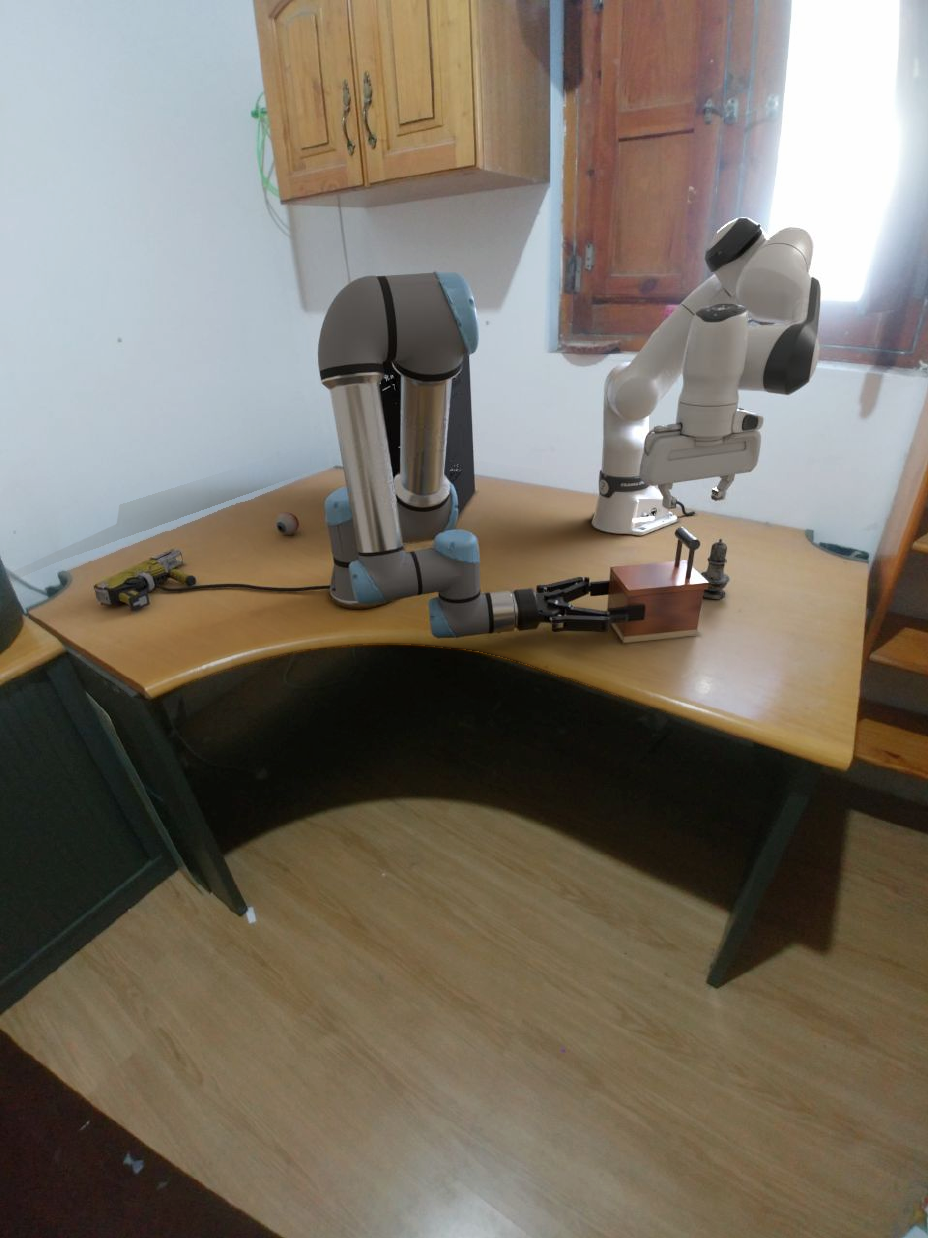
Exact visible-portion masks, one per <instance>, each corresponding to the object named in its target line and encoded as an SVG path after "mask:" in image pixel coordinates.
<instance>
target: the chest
mask: <svg viewBox="0 0 928 1238" xmlns="http://www.w3.org/2000/svg"><path fill="white" fill-rule="evenodd" d="M608 580H609V593H608V595H607V606H606V607H607V608H606V611H608V608H616V607H625V606H636V605H645V606H646V608H645V617H644V620H639V621H629V622H622V623H612V624H610V625H611V626H612V628H613V629H614V631H615V633H616V634H617V636H618V638H619V639H620V640H621V642H622V644H627V643H637V642H645V641H647V642H648V641H654V640H655V641H656V640H666V639H674V638H675V639H677V638H684V637H693V636H697V635H698V627H699V623H700V622H699V621H700V616H701V611H702V610H701V609H702V604H703V598H704V597H703V593H704V589H702V590H692V591H682V592H672V593H661V594H651V595H641V596H631V597H628V596H627V595H626V594H625V592H624V591H623V590H622V588H621V587H620V586H619V584H618V583H617V582H616V580H615V579H614V578H613V576H612V575H611V574H610V573H609V579H608Z"/></svg>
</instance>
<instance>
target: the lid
mask: <svg viewBox="0 0 928 1238" xmlns="http://www.w3.org/2000/svg"><path fill="white" fill-rule="evenodd" d="M674 536H675V538H676V539H677V544H676V551H675V558H674V560H671V561H660V562H650V563H647V562H646V563H639V564H637V563H636V564H627V565H617V566H610V568H609V569H610V570H609V575H610V574H611V575H612V576H613V578H614V579H615V580H616V582H617V583H618V584H619V586H620V587H621V588H622V590H623V591H624V592H625V594H626V595H627V596H628V597H631V596H641V595H651V594H661V593H672V592H682V591H692V590H702V589H708V585H709V582H708V581H707V580H706V579H705V578H704V577H703V576H702V575H701V574H700V572H699V571H698V570H696V569H695V568H694V566H693V565H694V558H695V554H696V553H695V552H696V550H698V549H699V548H700V547H701V541H700V540H699V539H698V538H697V537H696V536H694V535H693V534H692V533H691V532H690V531H688V530H687V529H686V528H685V527H683V526H681V527H678V528H676V530H675V531H674ZM683 545H684V546H685V547H686V548H688V549H689V550H688V557H687V560H686V559H681V557H682V550H683Z"/></svg>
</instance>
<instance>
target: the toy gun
mask: <svg viewBox="0 0 928 1238" xmlns="http://www.w3.org/2000/svg"><path fill="white" fill-rule="evenodd" d="M179 557H181V560H177V558H179ZM183 564H184V558H183V552H182V551H181V550H179V549H174V548H171V549H169V550H167V551H164V552H163V553H161V554H159V555H156V556H155V557H150V558H148V559H146V560H144V561H142V562H139V563H138V564H135V565H133V566H131V567H129V568H127V569H125V570H122V571H120V572H118V573H116V574H113V575H112V576H110V577H108V578H106V579H104V580H101V581H99V582H97V583H95V584H93V590H94V594H95V598H96V600H97V603H99V604H100V605H101V606H105V607H107V606H117V605H121V604H127V605H128V606H129V607H130V611H131V612H136V611H138V610H141V609H143V608H145V607H147V606H148V607H149V606H150V599H149V595H148V593H149V592H151V591H154V590H155V588H154V587H155V585H154V584H158V585H160V584H161V583H164V582H165V581H168V579H171V580H174V581H177V582H178V583H182V584H183V585H184V584H185V585H186V586H187V587H192V586H196V584H197V578H196V576H194V575H192V574H188V573H186V572H184V571H180V570H179V569H176V568H177V567H180V565H183Z"/></svg>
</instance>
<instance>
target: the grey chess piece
mask: <svg viewBox="0 0 928 1238" xmlns="http://www.w3.org/2000/svg"><path fill="white" fill-rule="evenodd" d="M727 551H728V545H727V543H724V542H723V538H719V539H718V541H716V542H714V543H713V544H712V545H711V549H710V555H709V556H708V557H707V561H708V564H707V569H706V571H702V572H699V574H701V575H702V576H703V577H704V578H705V579H706V580H707V581H708V582H709V585H708V589H704V593H703V598H706V599H711V600H717V599H722V598H724V597H725V596H726V591H724V589H725V588H726V586H727V585H728V583H729V582H730V580H731V578H730V576H729V575H728V574H726V573H725V565H726V564H727V562H728V559H726V557H727Z"/></svg>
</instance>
